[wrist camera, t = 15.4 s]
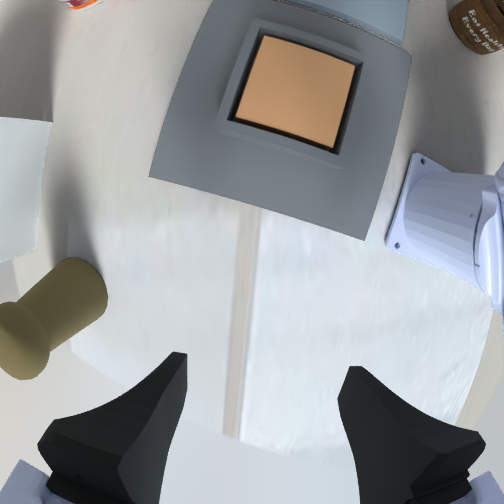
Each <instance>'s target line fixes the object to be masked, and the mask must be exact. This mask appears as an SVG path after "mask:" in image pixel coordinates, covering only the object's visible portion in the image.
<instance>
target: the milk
mask: <svg viewBox="0 0 504 504" xmlns="http://www.w3.org/2000/svg"><path fill="white" fill-rule="evenodd" d="M52 124H53V122H46V121H38V120H29V119H19V118H8V117H0V263H2V262H4V261H7V260H9V259H12V258H15V257H18V256H21V255H24V254H26V253H29V252H32V251H35V250H37V245H38V219H39V205H40V195H41V186H42V178H43V171H44V164H45V158H46V153H47V147H48V142H49V137H50V133H51V128H52Z"/></svg>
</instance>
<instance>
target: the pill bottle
mask: <svg viewBox="0 0 504 504" xmlns="http://www.w3.org/2000/svg"><path fill="white" fill-rule="evenodd" d="M58 1H60V2H61V3H62V4H64V5H65V6H66V7H68V8H69V9H71V10H73V11H82V10H86V9H89V8H91V7H93V6H95V5H97V4H99V3H101V2H102V1H104V0H58Z"/></svg>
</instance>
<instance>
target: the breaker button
mask: <svg viewBox="0 0 504 504" xmlns="http://www.w3.org/2000/svg"><path fill="white" fill-rule="evenodd" d="M354 69H355V66H354V65H352V64H349V63H347V62H344V61H342V60H339V59H337V58H334V57H332V56H329V55H326V54H324V53H321V52H318V51H315V50H312V49H309V48H306V47H303V46H300V45H297V44H294V43H290V42H287V41H283V40H280V39H276V38H272V37H269V36H265V35H264V38H263V40H262V43H261V46H260V48H259V51H258V54H257V56H256V59H255V62H254V65H253V67H252V70H251V73H250V76H249V79H248V81H247V84H246V87H245V90H244V93H243V96H242V99H241V102H240V105H239V108H238V111H237V114H236V120H237V123H240V124H243V125H247V126H251V127H254V128H258V129H261V130H264V131H268V132H271V133H274V134H278V135H281V136H284V137H287V138H290V139H293V140H296V141H299V142H302V143H305V144H308V145H311V146H314V147H316V148H319V149H322V150H327V149H331V148H333V145H334V142H335V138H336V135H337V131H338V128H339V124H340V121H341V117H342V114H343V110H344V106H345V103H346V99H347V95H348V92H349V88H350V84H351V80H352V76H353V72H354Z"/></svg>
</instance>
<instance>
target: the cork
mask: <svg viewBox="0 0 504 504" xmlns="http://www.w3.org/2000/svg"><path fill="white" fill-rule="evenodd" d="M107 300H108V295H107V290H106V286H105V284H104V281H103V279H102V277H101V275H100V274H99V273H98V272H97V270H96V269H95V268H94V267H93V266H92V265H91V264H89V263H88V262H87V261H85V260H82V259H80V258H68V259H66V260H63V261H62V262H61V263H59V264H58V265H57V266H56V267H55V268H54V269H52V270H51V271H50V272H49V273H48V274H47V275H46V276H44V277H43V278H42V279H41V280H40V281H39V282H38V283H37V284H35V285H34V286H33V287H32V288H31V289H30V290H29V291H28V292H27V293H26V294H25V295H24V296H23V297H21V298H20V299H19V300H18V301H17V302H5V303H2V304H0V367H1V368H2V369H3V370H4V371H5V372H7V373H8V374H9V375H11V376H12V377H14V378H17V379H19V380H27V379H33V378H35V377H37V376H38V375H39V374H40V373H41V372H42V370H43V369H44V368H45V367H46V365H47V362H48V359H49V355H50V351H52V350H53V349H55V348H56V347H57V346H59V345H60V344H62V343H63V342H65V341H66V340H68V339H69V338H71V337H72V336H73V335H75V334H76V333H78V332H79V331H81V330H82V329H84V328H85V327H87V326H88V325H90V324H91V323H92V322H94V321H95V320H97V319H98V318H99V317H100V316H102V315H103V314H104V312H105V309H106V307H107Z"/></svg>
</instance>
